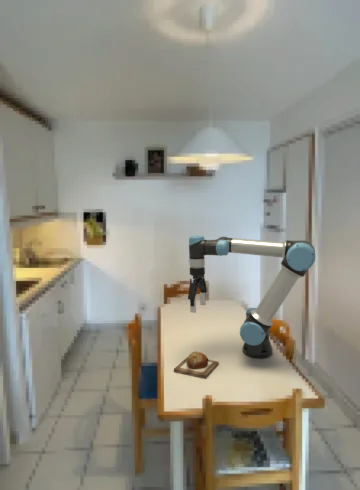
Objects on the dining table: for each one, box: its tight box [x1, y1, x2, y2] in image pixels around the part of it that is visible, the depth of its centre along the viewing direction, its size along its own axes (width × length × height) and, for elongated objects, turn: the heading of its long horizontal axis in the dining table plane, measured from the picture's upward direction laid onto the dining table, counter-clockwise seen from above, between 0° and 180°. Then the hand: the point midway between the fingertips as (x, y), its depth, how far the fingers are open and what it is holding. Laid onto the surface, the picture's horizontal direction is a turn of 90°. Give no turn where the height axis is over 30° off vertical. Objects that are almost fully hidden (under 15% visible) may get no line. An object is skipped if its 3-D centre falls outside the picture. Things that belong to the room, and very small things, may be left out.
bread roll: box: [186, 351, 209, 369], centre depth 177 cm, size 10×10×8 cm
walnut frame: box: [173, 356, 220, 380], centre depth 177 cm, size 16×16×2 cm
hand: (198, 308), depth 188 cm, fingers open, 13 cm apart
